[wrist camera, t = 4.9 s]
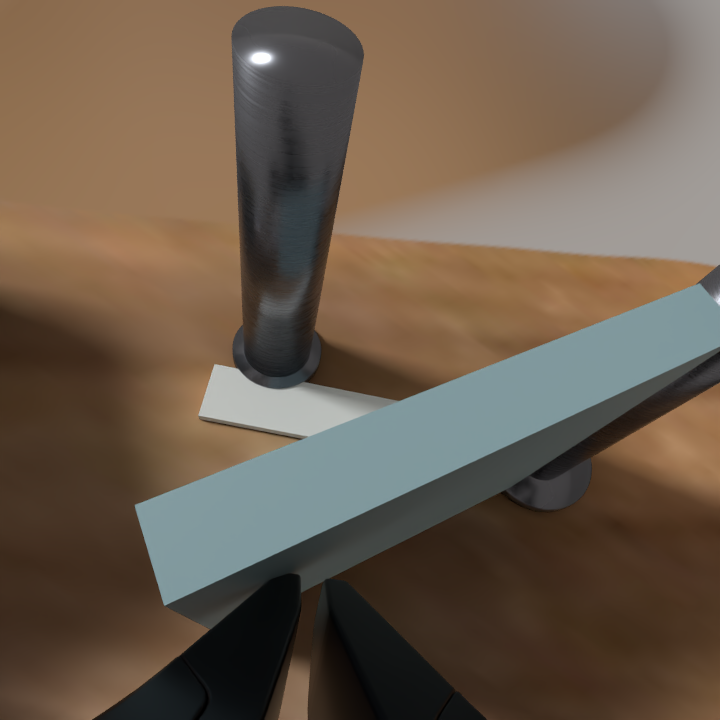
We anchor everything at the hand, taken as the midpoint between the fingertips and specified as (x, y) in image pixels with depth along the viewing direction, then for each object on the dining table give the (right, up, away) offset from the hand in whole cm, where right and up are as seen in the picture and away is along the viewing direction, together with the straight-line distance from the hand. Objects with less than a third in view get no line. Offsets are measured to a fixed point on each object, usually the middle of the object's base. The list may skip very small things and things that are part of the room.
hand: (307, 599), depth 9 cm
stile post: (-2, +4, +10) cm, 11 cm away
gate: (+1, -1, +7) cm, 7 cm away
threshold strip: (0, +2, +9) cm, 10 cm away
